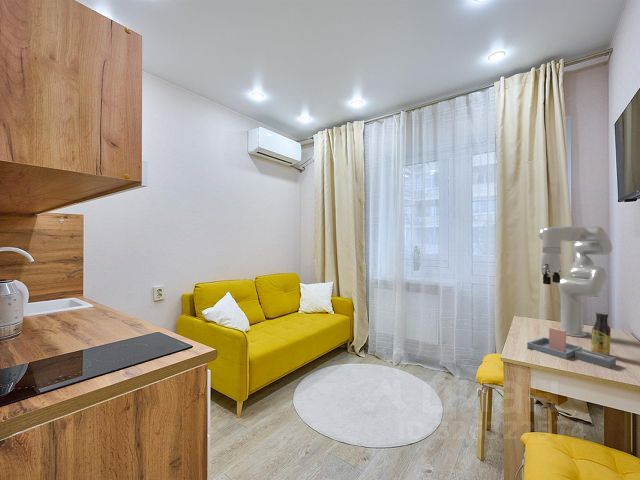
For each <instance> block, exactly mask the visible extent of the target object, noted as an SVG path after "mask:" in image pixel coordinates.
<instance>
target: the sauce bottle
mask: <svg viewBox="0 0 640 480" xmlns="http://www.w3.org/2000/svg"><path fill="white" fill-rule="evenodd" d="M608 317H609V313H607V312H603V311H596V312H595V318H596V319H595V322H594V324H593V326H592V328H591V338H590V339H591V342H590V343H591V344H590V346H591V348H590V351H592V352H596V353H599V354H603V355H607V356H610V354H611V332H612V331H611V327H610V326H609V324H608Z"/></svg>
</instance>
